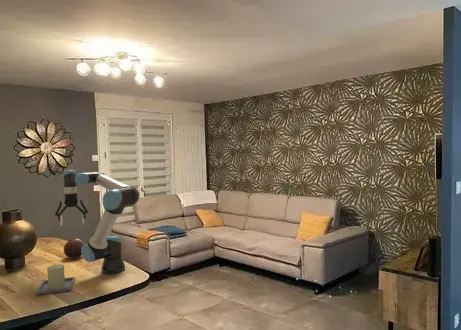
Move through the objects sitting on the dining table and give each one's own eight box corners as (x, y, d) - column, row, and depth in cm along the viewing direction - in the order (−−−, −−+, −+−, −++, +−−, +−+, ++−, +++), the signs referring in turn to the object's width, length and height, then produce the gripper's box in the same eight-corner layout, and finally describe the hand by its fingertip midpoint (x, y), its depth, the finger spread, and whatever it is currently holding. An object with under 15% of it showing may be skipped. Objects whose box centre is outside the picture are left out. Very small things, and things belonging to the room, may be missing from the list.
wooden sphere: (89, 256, 276) (88, 237, 275) (71, 262, 263) (70, 242, 263) (77, 254, 284) (76, 235, 283) (59, 259, 271) (58, 240, 271)
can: (48, 290, 205) (46, 269, 205) (47, 285, 214) (46, 265, 213) (65, 286, 210) (64, 266, 209) (64, 282, 218) (63, 262, 217)
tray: (75, 280, 223) (75, 276, 223) (70, 291, 205) (70, 286, 205) (43, 284, 218) (43, 280, 218) (36, 295, 200) (35, 291, 200)
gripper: (91, 191, 246) (92, 222, 247) (51, 193, 240) (53, 225, 240) (90, 192, 239) (91, 223, 240) (49, 195, 233) (50, 227, 233)
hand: (72, 224), depth 240 cm, fingers open, 13 cm apart
